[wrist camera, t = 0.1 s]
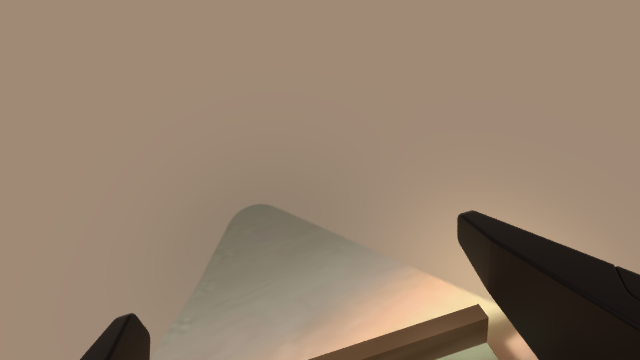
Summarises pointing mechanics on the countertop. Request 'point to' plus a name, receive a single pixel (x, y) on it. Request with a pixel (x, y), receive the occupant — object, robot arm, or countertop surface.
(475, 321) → the board
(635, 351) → the robot arm
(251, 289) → the countertop surface
